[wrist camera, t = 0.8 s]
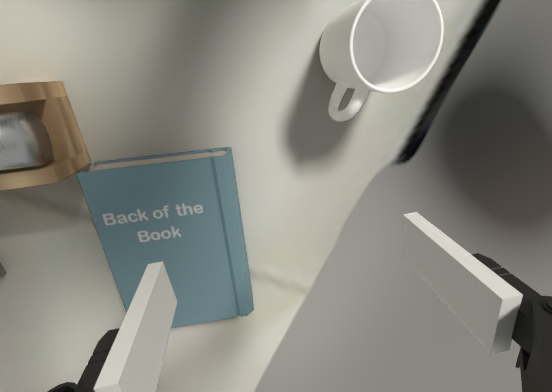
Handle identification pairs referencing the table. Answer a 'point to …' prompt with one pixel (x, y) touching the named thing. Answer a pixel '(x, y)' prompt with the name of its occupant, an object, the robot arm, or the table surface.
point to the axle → (23, 141)
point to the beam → (61, 128)
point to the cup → (379, 49)
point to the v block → (1, 271)
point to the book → (174, 229)
